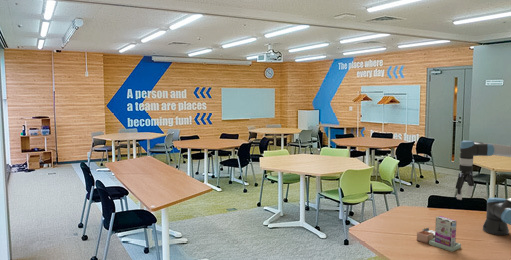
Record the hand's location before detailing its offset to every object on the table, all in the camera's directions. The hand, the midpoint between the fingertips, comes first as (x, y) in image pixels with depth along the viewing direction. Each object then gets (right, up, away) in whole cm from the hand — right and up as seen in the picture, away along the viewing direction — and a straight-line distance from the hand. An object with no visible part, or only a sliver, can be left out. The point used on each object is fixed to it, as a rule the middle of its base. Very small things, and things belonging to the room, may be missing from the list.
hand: (464, 197), depth 251 cm
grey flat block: (-17, -25, +2) cm, 30 cm away
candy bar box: (-18, -27, -11) cm, 34 cm away
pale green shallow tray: (-18, -28, -11) cm, 35 cm away
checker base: (-17, -27, +2) cm, 32 cm away
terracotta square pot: (-26, -27, -2) cm, 38 cm away
